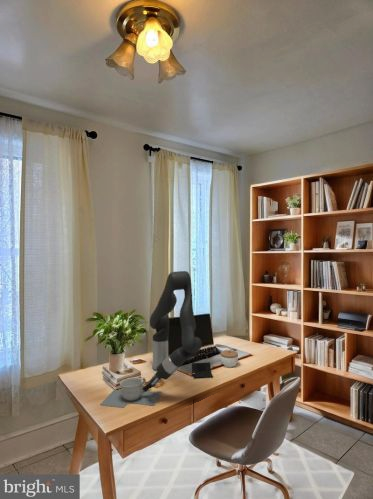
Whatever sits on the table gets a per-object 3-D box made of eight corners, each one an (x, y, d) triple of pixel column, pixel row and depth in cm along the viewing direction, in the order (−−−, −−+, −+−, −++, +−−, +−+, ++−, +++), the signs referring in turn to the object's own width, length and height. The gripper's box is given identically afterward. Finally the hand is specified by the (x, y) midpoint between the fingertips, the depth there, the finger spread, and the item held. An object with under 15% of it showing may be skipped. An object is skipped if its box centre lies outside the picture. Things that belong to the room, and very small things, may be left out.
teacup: (126, 405, 146) (126, 388, 146) (116, 396, 154) (116, 380, 154) (152, 396, 155) (152, 380, 154) (141, 388, 163) (141, 373, 163)
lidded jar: (216, 364, 195) (216, 349, 195) (229, 360, 201) (229, 346, 201) (229, 370, 186) (229, 354, 186) (241, 366, 193) (241, 350, 193)
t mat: (119, 384, 169) (119, 383, 169) (164, 388, 163) (164, 388, 163) (99, 404, 147) (99, 404, 147) (151, 411, 142) (151, 410, 142)
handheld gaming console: (195, 377, 173) (194, 359, 179) (191, 381, 179) (190, 363, 185) (214, 378, 176) (212, 360, 182) (210, 381, 182) (208, 364, 188)
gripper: (166, 356, 158) (143, 378, 161) (158, 366, 145) (134, 390, 148) (177, 367, 157) (153, 389, 160) (170, 378, 144) (144, 402, 147)
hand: (144, 389), depth 154 cm, fingers closed
